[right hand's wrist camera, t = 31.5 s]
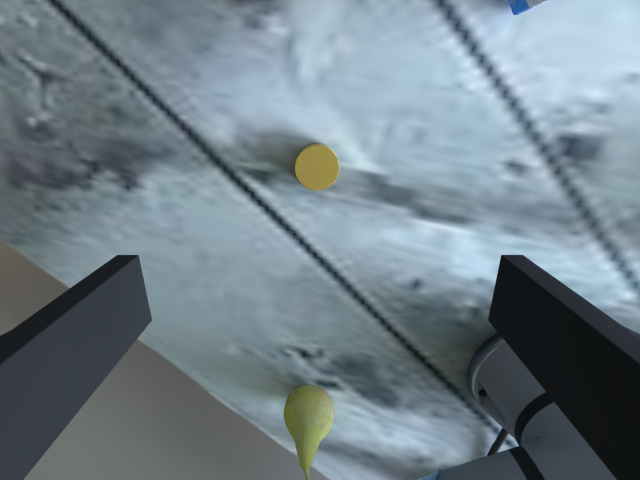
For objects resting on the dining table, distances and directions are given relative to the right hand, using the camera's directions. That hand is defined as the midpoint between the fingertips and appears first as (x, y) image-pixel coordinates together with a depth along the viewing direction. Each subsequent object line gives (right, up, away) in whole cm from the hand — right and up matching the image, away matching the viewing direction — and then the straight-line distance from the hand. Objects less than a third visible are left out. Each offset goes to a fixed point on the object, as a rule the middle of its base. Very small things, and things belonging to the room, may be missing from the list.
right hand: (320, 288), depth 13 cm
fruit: (-1, -20, +36) cm, 41 cm away
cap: (0, +9, +22) cm, 24 cm away
